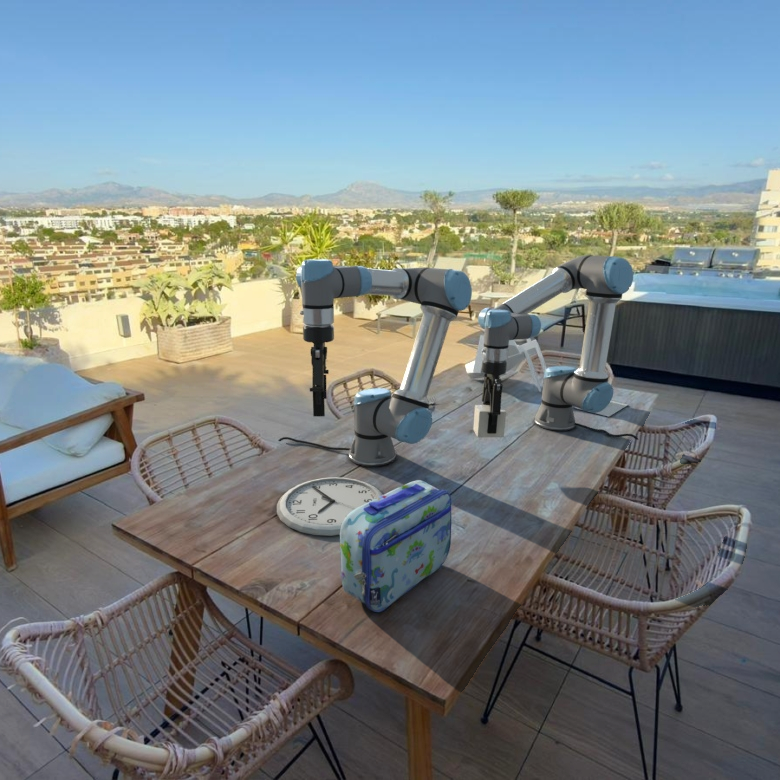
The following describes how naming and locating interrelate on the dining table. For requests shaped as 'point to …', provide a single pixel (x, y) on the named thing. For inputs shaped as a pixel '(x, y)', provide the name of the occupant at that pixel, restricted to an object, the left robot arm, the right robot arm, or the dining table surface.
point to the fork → (432, 401)
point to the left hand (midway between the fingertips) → (320, 406)
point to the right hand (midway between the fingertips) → (488, 428)
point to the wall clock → (323, 504)
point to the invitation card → (610, 408)
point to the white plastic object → (509, 359)
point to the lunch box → (394, 543)
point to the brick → (482, 421)
